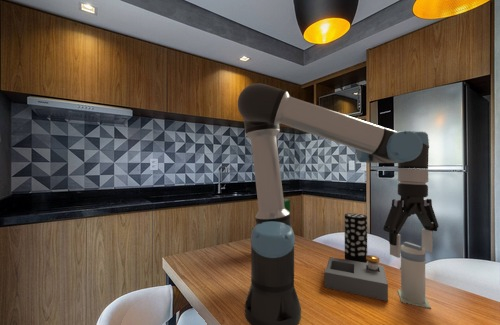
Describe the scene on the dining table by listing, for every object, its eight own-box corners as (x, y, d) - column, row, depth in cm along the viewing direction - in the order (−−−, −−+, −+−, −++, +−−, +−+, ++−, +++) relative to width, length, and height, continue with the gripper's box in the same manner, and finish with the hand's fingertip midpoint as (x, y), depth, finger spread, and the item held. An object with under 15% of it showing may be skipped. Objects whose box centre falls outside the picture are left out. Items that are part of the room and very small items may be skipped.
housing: (387, 301, 69) (387, 284, 69) (324, 287, 76) (324, 272, 76) (383, 280, 81) (383, 265, 81) (329, 269, 89) (329, 256, 89)
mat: (430, 308, 65) (430, 307, 65) (401, 302, 68) (401, 301, 68) (424, 296, 71) (424, 294, 71) (397, 290, 74) (397, 289, 74)
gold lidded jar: (379, 280, 76) (379, 260, 76) (366, 277, 78) (366, 258, 78) (379, 275, 80) (378, 256, 80) (366, 272, 82) (366, 254, 82)
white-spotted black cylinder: (348, 259, 99) (348, 212, 99) (369, 264, 94) (369, 215, 94) (341, 265, 93) (341, 215, 93) (364, 272, 87) (364, 218, 88)
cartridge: (430, 301, 68) (430, 246, 68) (416, 305, 66) (415, 248, 66) (410, 290, 74) (409, 240, 74) (396, 294, 71) (395, 242, 72)
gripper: (427, 181, 78) (426, 245, 78) (370, 182, 69) (369, 253, 69) (453, 183, 71) (452, 253, 70) (393, 184, 62) (392, 263, 62)
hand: (411, 253), depth 70 cm, fingers open, 13 cm apart
